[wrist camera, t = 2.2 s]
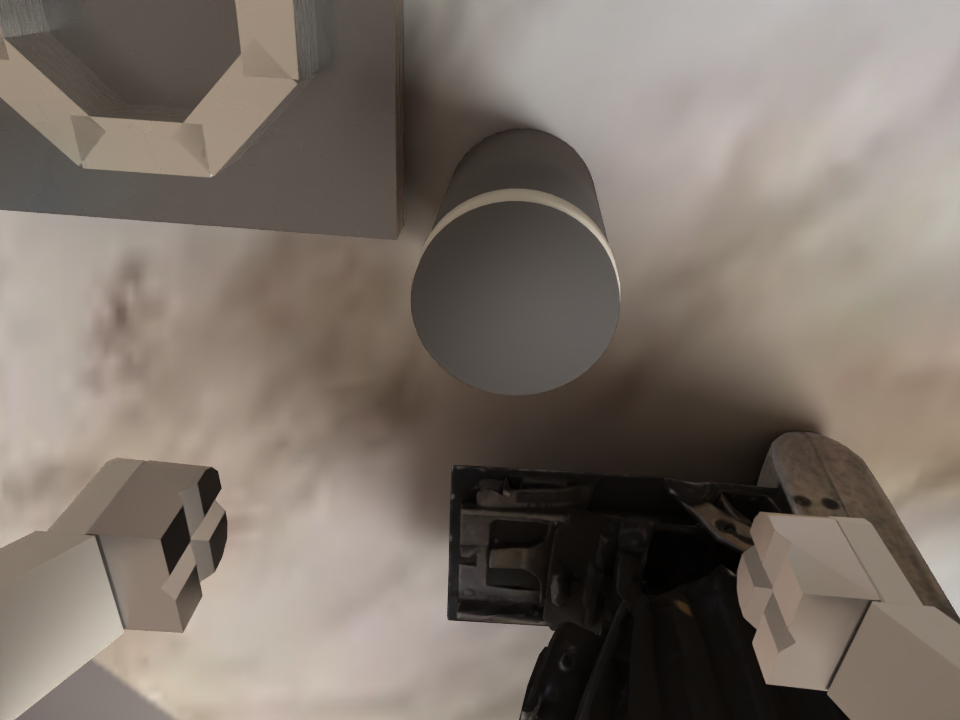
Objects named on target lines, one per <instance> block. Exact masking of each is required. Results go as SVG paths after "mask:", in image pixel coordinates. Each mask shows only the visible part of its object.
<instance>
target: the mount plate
mask: <svg viewBox="0 0 960 720" xmlns="http://www.w3.org/2000/svg"><path fill="white" fill-rule="evenodd" d="M0 210H10V211H23V212H37V213H50V214H63V215H76V216H89V217H103V218H116V219H129V220H142V221H155V222H169V223H182V224H195V225H208V226H221V227H235V228H248V229H261V230H274V231H287V232H301V233H314V234H327V235H340V236H353V237H367V238H380V239H393V240H397V238H398V236H399V234H400V232H401V230H402V228H403V226H404V13H403V0H0Z"/></svg>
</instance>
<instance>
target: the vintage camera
mask: <svg viewBox="0 0 960 720" xmlns="http://www.w3.org/2000/svg"><path fill="white" fill-rule="evenodd" d="M759 512H770V513H783V514H796V515H810V516H823V517H829V516H833V517H849V518H864V519H866V520H867V521H868V522H870V523H871V524H872V525H873V527H874V528H875V530H876V531H877V533H878V535H879V536H880V538H881V539H882V541H883V543H884V544H885V546H886V547H887V549H888V550H889V552H890V554H891V555H892V557H893V558H894V560H895V562H896V563H897V565H898V566H899V568H900V570H901V571H902V573H903V574H904V576H905V577H906V579H907V581H908V582H909V584H910V585H911V587H912V589H913V590H914V592H915V593H916V595H917V597H918V598H919V600H920V601H921V603H922V604H923V606H932V607H935V608H937V609H938V610H940V611H941V612H943V613H944V614H945V615H947V616H948V617H950V618H951V619H953V620H954V621H955V622H957V623H958V624H960V618H959V617H958V615H957V613H956V612H955V610H954V608H953V607H952V605H951V603H950V602H949V600H948V599H947V597H946V595H945V594H944V592H943V590H942V589H941V587H940V585H939V584H938V582H937V580H936V579H935V577H934V575H933V574H932V572H931V570H930V569H929V567H928V565H927V564H926V562H925V560H924V559H923V557H922V555H921V554H920V552H919V550H918V549H917V547H916V545H915V544H914V542H913V540H912V539H911V537H910V535H909V534H908V532H907V530H906V529H905V527H904V526H903V524H902V522H901V520H900V518H899V517H898V515H897V513H896V511H895V509H894V508H893V506H892V504H891V503H890V501H889V499H888V498H887V496H886V495H885V493H884V491H883V490H882V488H881V487H880V485H879V483H878V482H877V480H876V479H875V477H874V475H873V474H872V472H871V471H870V470H869V468H868V467H867V465H866V464H865V462H864V461H863V459H862V458H860V457H859V456H858V455H856V454H855V453H854V452H853V451H851V450H850V449H849V448H847V447H846V446H844V445H842V444H841V443H839V442H837V441H835V440H832V439H830V438H828V437H825V436H823V435H821V434H818V433H812V432H798V431H795V432H788V433H784V434H782V435H781V436H779V437H778V438H777V439H775V440H774V441H773V442H772V444H771V446H770V449H769V451H768V453H767V456H766V459H765V461H764V464H763V467H762V469H761V473H760V476H759V479H758V483H757V486H751V485H743V484H732V483H720V482H701V483H694V482H688V481H682V480H677V479H671V478H666V477H656V476H643V475H624V474H608V473H593V472H569V471H554V470H537V469H520V468H502V467H484V466H467V465H452V473H451V497H450V532H449V576H448V607H447V618H448V620H453V621H470V622H487V623H503V624H520V625H535V626H549V628H550V629H551V630H553V631H555V632H554V634H553V636H552V638H551V640H550V642H549V645H548V647H545V648H544V649H543V650H542V652H541V653H540V654H539V657H538V659H537V662H536V664H535V667H534V670H533V672H532V675H531V678H530V680H529V683H528V686H527V690H526V694H525V698H524V702H523V706H522V710H521V715H520V719H519V720H850V719H849V718H848V717H847V715H846V714H845V713H844V712H843V711H842V710H841V709H840V708H839V707H838V706H837V705H836V703H835V702H834V701H833V700H832V699H831V698H830V697H829V696H828V695H827V692H828V691H822V690H813V689H805V688H796V687H787V686H779V685H770V684H766V682H765V680H764V677H763V674H762V671H761V668H760V665H759V662H758V659H757V656H756V653H755V650H754V647H753V644H752V642H753V639H754V637H755V634H756V631H757V629H756V628H755V627H754V626H752V625H751V624H750V623H749V622H748V621H747V620H746V619H745V618H744V617H743V614H742V611H741V608H740V604H739V600H738V593H737V570H738V567H739V563H740V560H741V556H742V553H744V552H745V551H747V550H748V549H749V548H751V547H752V546H753V545H755V544H754V542H753V539H752V536H751V534H750V529H751V527H752V524H753V521H754V518H755V517H756V516H757V515H758V514H759ZM595 633H597V634H595Z"/></svg>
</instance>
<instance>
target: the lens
mask: <svg viewBox="0 0 960 720" xmlns="http://www.w3.org/2000/svg"><path fill="white" fill-rule="evenodd" d="M620 297H621V296H620V282H619V277H618V272H617V268H616V264H615V260H614V257H613V254H612V251H611V248H610V246H609V244H608V240H607V236H606V232H605V228H604V224H603V220H602V216H601V212H600V208H599V204H598V200H597V196H596V192H595V188H594V183H593V180H592V177H591V174H590V172H589V170H588V168H587V166H586V164H585V163H584V161H583V160H582V158H581V157H580V156H579V155H578V153H577V152H576V151H575V150H574V149H573V148H572V147H570V146H569V145H568V144H567V143H565V142H564V141H562V140H561V139H559V138H557V137H555V136H553V135H551V134H548V133H545V132H542V131H538V130H531V129H513V130H507V131H503V132H499V133H496V134H494V135H492V136H489V137H487V138H486V139H484V140H482V141H481V142H479V143H478V144H477V145H475V146H474V147H473V148H472V149H471V150H470V151H469V152H468V153H467V154H466V155H465V156H464V157H463V159H462V160H461V161H460V163H459V164H458V166H457V168H456V170H455V172H454V174H453V177H452V180H451V182H450V185H449V187H448V190H447V192H446V195H445V198H444V200H443V203H442V205H441V208H440V210H439V213H438V216H437V218H436V221H435V223H434V226H433V228H432V231H431V233H430V235H429V236H428V238H427V240H426V242H425V244H424V246H423V249H422V251H421V254H420V256H419V259H418V261H417V264H416V267H415V270H414V275H413V279H412V290H411V311H412V316H413V321H414V325H415V328H416V330H417V333H418V336H419V338H420V340H421V341H422V343H423V345H424V347H425V348H426V350H427V351H428V353H429V354H430V355H431V357H432V358H433V359H434V360H435V361H436V362H437V363H438V364H439V365H440V366H441V367H442V368H443V369H444V370H446V371H447V372H448V373H449V374H451V375H452V376H454V377H455V378H457V379H458V380H460V381H462V382H464V383H466V384H468V385H470V386H472V387H475V388H477V389H480V390H483V391H487V392H491V393H495V394H503V395H531V394H537V393H542V392H546V391H549V390H552V389H556V388H558V387H560V386H563V385H565V384H567V383H569V382H571V381H572V380H574V379H576V378H577V377H579V376H580V375H582V374H583V373H584V372H586V371H587V370H588V369H589V368H590V367H591V366H592V365H593V364H594V363H595V362H596V361H597V360H598V359H599V358H600V356H601V355H602V354H603V353H604V351H605V350H606V348H607V346H608V345H609V343H610V341H611V339H612V337H613V334H614V332H615V329H616V326H617V322H618V318H619V310H620Z"/></svg>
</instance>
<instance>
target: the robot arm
mask: <svg viewBox="0 0 960 720" xmlns="http://www.w3.org/2000/svg"><path fill="white" fill-rule="evenodd" d="M220 490H221V484H220V479H219V474H218V471H217V470H215V469H214V468H212V467H206V466H197V465H187V464H178V463H168V462H159V461H144V460H134V459H124V458H115V459H113V460H110V461H108V462H107V463H105V465H104V466H103V467H102V468H101V469H100V470H99V472H98V473H97V474H96V475H95V476H94V477H93V479H92V480H91V481H90V482H89V483H88V484H87V486H86V487H85V488H84V489H83V490H82V491H81V493H80V494H79V495H78V496H77V497H76V498H75V499H74V501H73V502H72V503H71V504H70V505H69V506H68V508H67V509H66V510H65V511H64V512H63V513H62V515H61V516H60V517H59V518H58V519H57V520H56V522H55V523H54V524H53V525H52V526H51V527H50V529H49V530H48V531H47V532H45V531H35V532H33V533H31V534H29V535H27V536H25V537H23V538H21V539H19V540H17V541H15V542H13V543H11V544H9V545H7V546H5V547H3V548H1V549H0V720H15V719H16V718H17V717H18V716H20V715H21V714H22V713H23V712H25V711H26V710H27V709H29V708H30V707H31V706H32V705H33V704H35V703H36V702H37V701H39V700H40V699H41V698H42V697H44V696H45V695H46V694H47V693H49V692H50V691H51V690H52V689H54V688H55V687H56V686H58V685H59V684H60V683H61V682H63V681H64V680H65V679H66V678H68V677H69V676H70V675H71V674H73V673H74V672H75V671H76V670H78V669H79V668H80V667H81V666H83V665H84V664H85V663H86V662H88V661H89V660H90V659H92V658H93V657H94V656H95V655H97V654H98V653H99V652H100V651H102V650H103V649H104V648H105V647H107V646H108V645H109V644H110V643H112V642H113V641H114V640H116V639H117V638H118V637H119V636H121V635H122V634H123V633H124V629H128V630H145V631H161V632H178V633H183V632H184V630H185V628H186V626H187V624H188V622H189V620H190V619H191V617H192V615H193V613H194V611H195V609H196V607H197V605H198V603H199V601H200V600H201V598H202V591H201V586H200V582H201V581H202V580H204V579H205V578H207V577H208V576H210V575H211V574H213V573H214V572H215V571H216V568H217V566H218V564H219V562H220V560H221V558H222V556H223V552H224V548H225V544H226V540H227V518H226V511H225V510H224V509H223V508H222V507H221V506H220V505H219V504H218V503H217V502H216V501H215V499H216V497H217V495H218V493H219V492H220ZM750 534H751V536H752V539H753V542H754V544H755V545H753V546H752V547H751V548H749V549H748V550H747V551H745V552H744V553H742V556H741V560H740V563H739V567H738V570H737V593H738V600H739V604H740V608H741V611H742V614H743V617H744V618H745V619H746V620H747V621H748V622H749V623H750V624H751V625H752V626H754V627H755V628H756V629H757V631H756V634H755V637H754V639H753V642H752V644H753V647H754V650H755V653H756V656H757V659H758V662H759V665H760V668H761V671H762V674H763V677H764V680H765V682H766V684H770V685H779V686H787V687H796V688H805V689H813V690H822V691H828V692H827V695H828V696H829V697H830V698H831V699H832V700H833V701H834V702H835V703H836V705H837V706H838V707H839V708H840V709H841V710H842V711H843V712H844V713H845V714H846V715H847V717H848V718H849V719H850V720H960V624H958V623H957V622H955V621H954V620H953V619H951V618H950V617H948V616H947V615H945V614H944V613H943V612H941V611H940V610H938V609H937V608H935V607H932V606H923V604H922V603H921V601H920V600H919V598H918V597H917V595H916V593H915V592H914V590H913V589H912V587H911V585H910V584H909V582H908V581H907V579H906V577H905V576H904V574H903V573H902V571H901V570H900V568H899V566H898V565H897V563H896V562H895V560H894V558H893V557H892V555H891V554H890V552H889V550H888V549H887V547H886V546H885V544H884V543H883V541H882V539H881V538H880V536H879V535H878V533H877V531H876V530H875V528H874V527H873V525H872V524H871V523H870V522H868V521H867V520H866V519H864V518H849V517H833V516H829V517H823V516H810V515H796V514H783V513H770V512H759V514H758V515H757V516H756V517H755V518H754V521H753V524H752V527H751V529H750Z"/></svg>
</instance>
